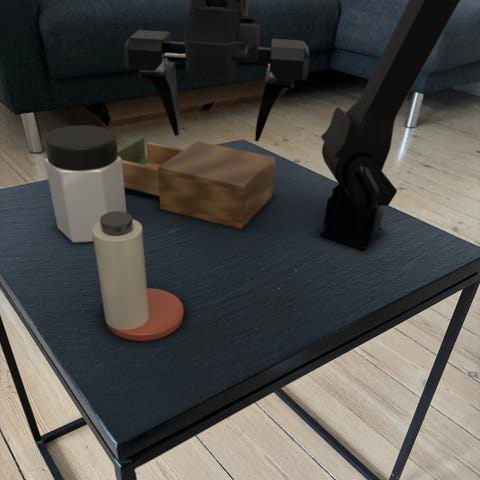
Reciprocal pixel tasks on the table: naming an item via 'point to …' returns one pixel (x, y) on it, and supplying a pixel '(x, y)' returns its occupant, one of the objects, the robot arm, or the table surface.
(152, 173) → the drawer
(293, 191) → the table surface
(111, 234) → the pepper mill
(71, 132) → the jar
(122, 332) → the disc
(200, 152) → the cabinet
